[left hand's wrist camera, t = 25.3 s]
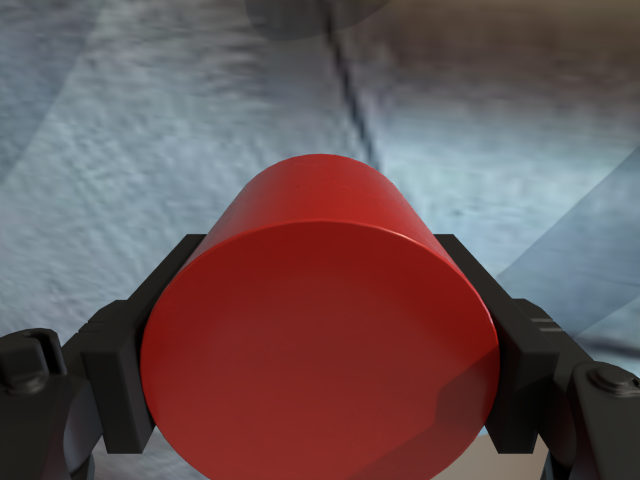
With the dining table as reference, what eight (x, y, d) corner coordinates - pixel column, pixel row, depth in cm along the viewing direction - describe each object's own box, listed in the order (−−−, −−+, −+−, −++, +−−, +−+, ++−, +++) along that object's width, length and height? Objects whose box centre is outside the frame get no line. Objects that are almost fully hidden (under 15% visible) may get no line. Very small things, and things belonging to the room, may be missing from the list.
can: (182, 250, 16) (66, 387, 8) (321, 106, 14) (323, 125, 6) (319, 364, 18) (318, 551, 10) (457, 253, 16) (573, 391, 8)
